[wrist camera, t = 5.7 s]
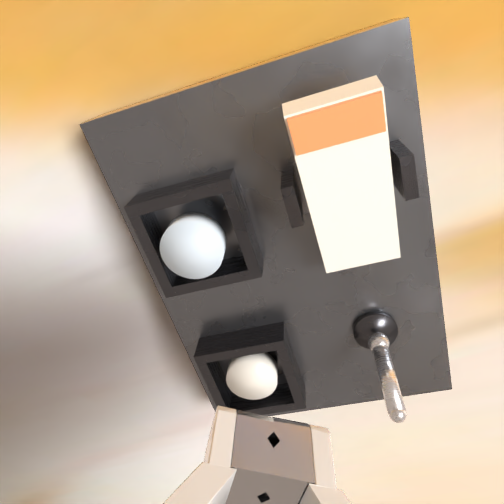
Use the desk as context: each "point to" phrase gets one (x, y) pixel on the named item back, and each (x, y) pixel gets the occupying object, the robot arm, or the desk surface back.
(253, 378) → the button
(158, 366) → the desk surface
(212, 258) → the button
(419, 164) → the panel
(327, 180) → the rocker
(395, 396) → the toggle lever
